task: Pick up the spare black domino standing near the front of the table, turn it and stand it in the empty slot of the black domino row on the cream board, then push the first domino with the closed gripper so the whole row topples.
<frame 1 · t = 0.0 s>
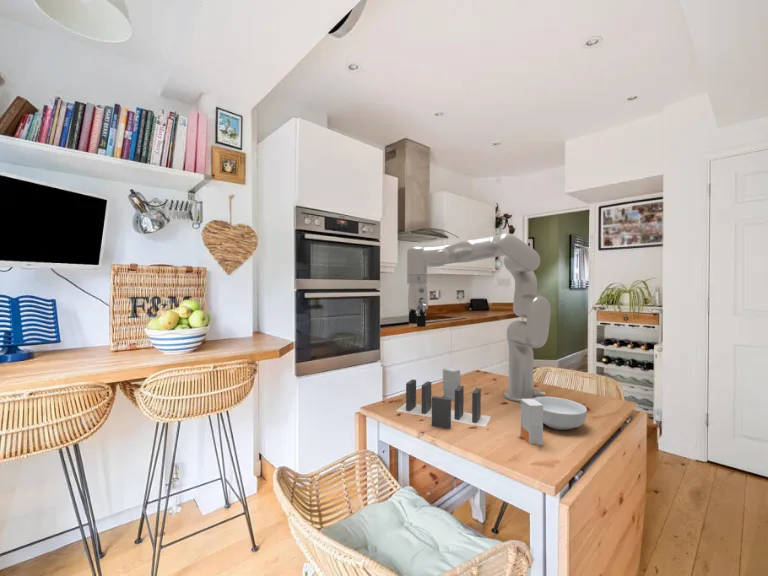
hand: (416, 325, 136), 31 cm above the table, tool pointing down, fingers open, 9 cm apart
domino 4: (426, 410, 131), point 1 cm above the table, touching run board
skincare box: (531, 442, 108), on the table
domino 1: (476, 419, 123), point 1 cm above the table, touching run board
skincare box 2: (451, 399, 146), on the table
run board: (442, 415, 128), on the table
domino 2: (459, 416, 126), point 1 cm above the table, touching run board
cereal bowl: (557, 425, 120), on the table
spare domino: (441, 428, 117), on the table
domino 5: (411, 408, 134), point 1 cm above the table, touching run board
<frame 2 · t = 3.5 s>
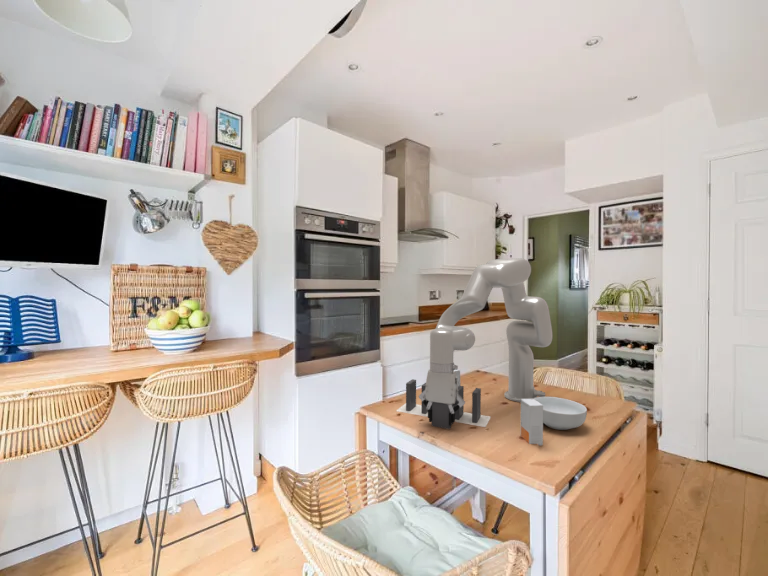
hand: (441, 421, 117), 2 cm above the table, tool pointing down, fingers closed on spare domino, 5 cm apart
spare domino: (441, 428, 117), on the table, touching gripper
everything else where it was.
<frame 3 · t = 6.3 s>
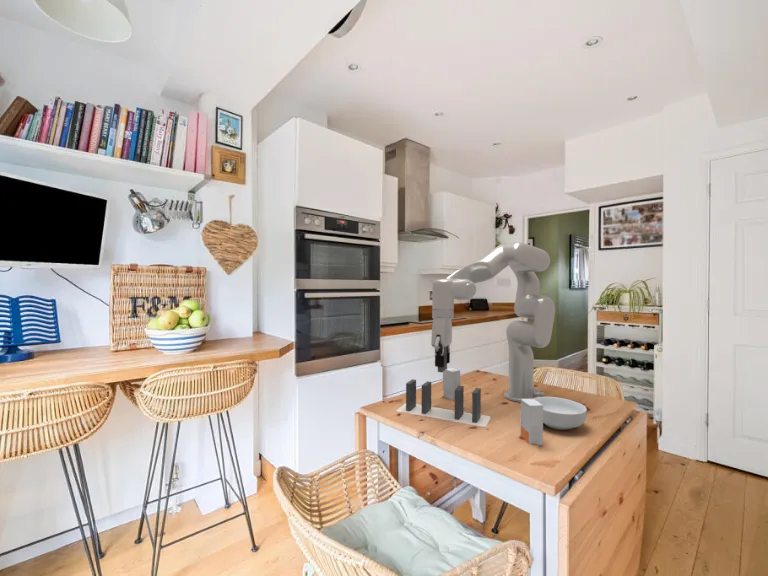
hand: (442, 364, 128), 18 cm above the table, tool pointing down, fingers closed on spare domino, 5 cm apart
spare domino: (442, 370, 128), point 16 cm above the table, touching gripper
everything else where it was.
when the fingers open (4 cm above the table, at t = 9.3 s): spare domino stays where it is, resting on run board.
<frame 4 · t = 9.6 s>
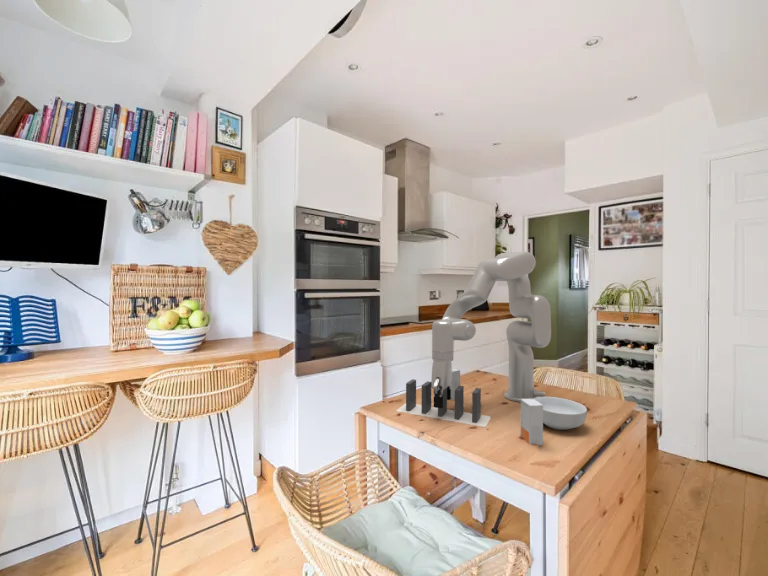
hand: (442, 403, 128), 4 cm above the table, tool pointing down, fingers open, 9 cm apart
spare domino: (442, 413, 128), point 1 cm above the table, touching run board
everything else where it was.
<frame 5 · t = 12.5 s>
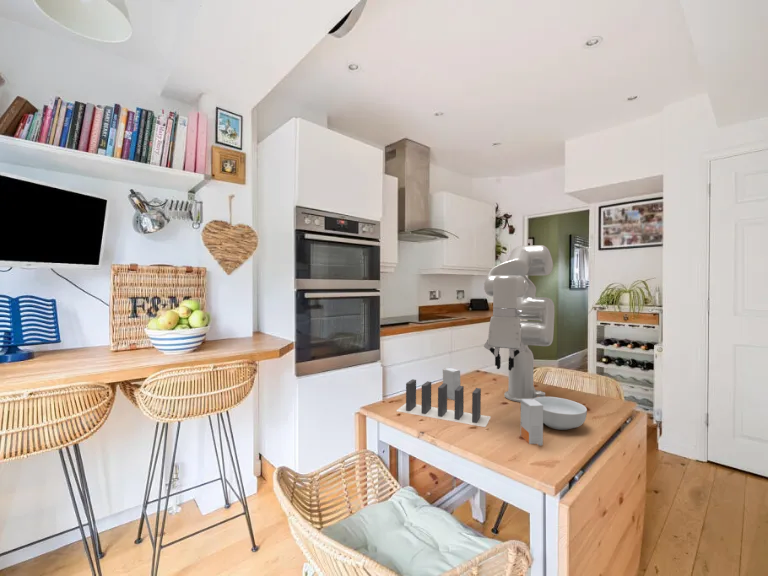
hand: (504, 368, 119), 19 cm above the table, tool pointing down, fingers open, 3 cm apart
nothing on the table moved.
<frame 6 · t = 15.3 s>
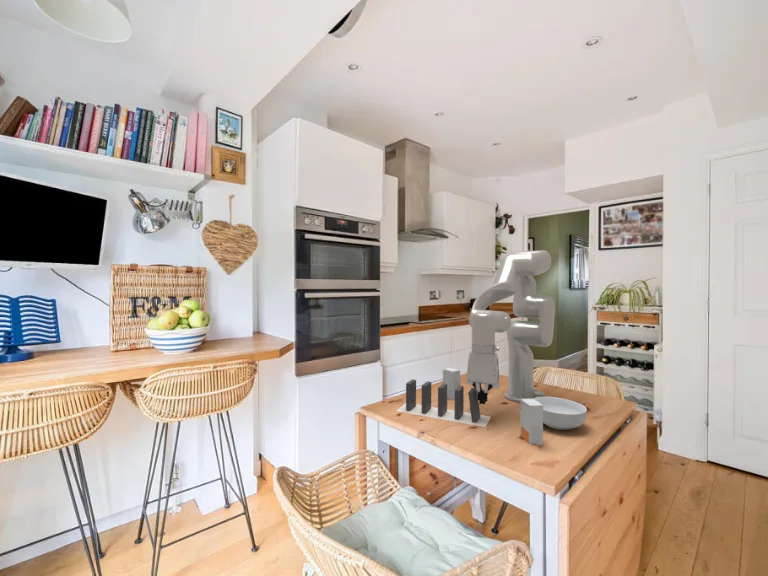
hand: (482, 402, 122), 7 cm above the table, tool pointing down, fingers closed
domino 1: (476, 419, 123), point 1 cm above the table, tilted 8°, touching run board
everything else where it was.
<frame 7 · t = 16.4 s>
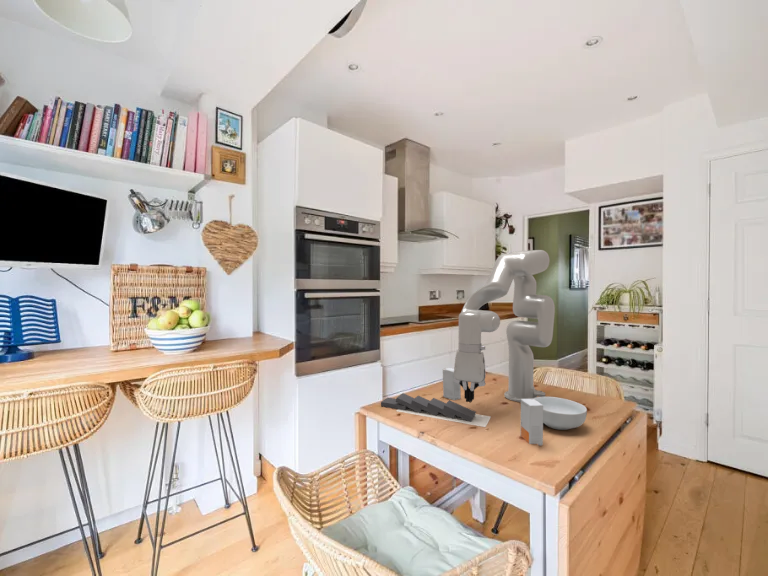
hand: (469, 401, 124), 7 cm above the table, tool pointing down, fingers closed
domino 4: (423, 408, 131), point 1 cm above the table, tilted 74°, touching domino 5, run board, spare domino
domino 1: (473, 416, 123), point 1 cm above the table, tilted 74°, touching domino 2, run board
domino 2: (456, 413, 126), point 1 cm above the table, tilted 75°, touching domino 1, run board, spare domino
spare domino: (439, 411, 129), point 1 cm above the table, tilted 75°, touching domino 2, domino 4, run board
domino 5: (408, 405, 134), point 1 cm above the table, tilted 90°, touching domino 4, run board
everything else where it was.
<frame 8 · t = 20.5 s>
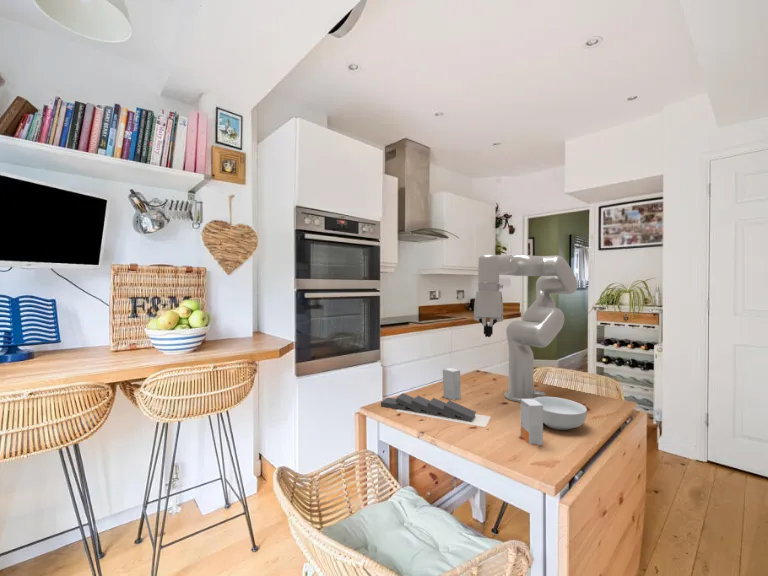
hand: (488, 336, 135), 27 cm above the table, tool pointing down, fingers closed
nothing on the table moved.
at the end: domino 5 tilted 90°; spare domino tilted 75°; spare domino inside the target area (0.4 cm from its centre), point 1.4 cm above the table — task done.
